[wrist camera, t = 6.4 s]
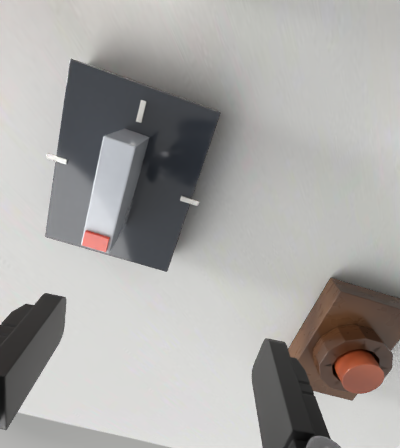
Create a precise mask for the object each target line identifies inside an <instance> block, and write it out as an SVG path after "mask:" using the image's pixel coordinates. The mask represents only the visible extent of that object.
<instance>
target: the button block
mask: <svg viewBox="0 0 400 448" xmlns="http://www.w3.org/2000/svg"><path fill="white" fill-rule="evenodd" d="M399 340H400V299H399V298H396V297H393V296H389V295H386V294H383V293H379V292H376V291H373V290H370V289H366V288H363V287H360V286H356V285H353V284H350V283H347V282H343V281H340V280H337V279H333V278H330V279H329V281H328V283H327V285H326V286H325V288H324V290H323V291H322V293H321V295H320V296H319V298H318V300H317V301H316V303H315V305H314V306H313V308H312V310H311V311H310V313H309V315H308V317H307V318H306V320H305V322H304V323H303V325H302V327H301V328H300V330H299V332H298V333H297V335H296V337H295V338H294V340H293V342H292V343H291V345H290V347H289V349H288V351H289V354H290V357H293V358H297V360H298V361H299V362H300V364H301V365H302V366H303V368H304V369H305V371H306V374H307V376H308V379H309V382H310V385H311V387H312V390H313V391H316V392H320V393H324V394H328V395H332V396H336V397H340V398H344V399H348V400H353V399H354V398H355V396H356V395H357V393H352V392H349V391H347V390H346V389H345V388H344V387H343V385H342V383H341V381H340V379H339V377H338V375H337V373H336V371H335V369H334V363H335V361H336V359H337V358H338V357H339V356H341V355H342V354H344V353H346V352H348V351H350V350H357V349H364V350H367V351H369V352H370V353H371V354H372V355H373V357H374V358H375V360H376V361H377V363H378V364H379V366H380V367H381V369H382V370H383V372H384V378H385V376H386V375H387V374H388V373H389V371H390V370H391V369H392V360H393V354H392V352H391V350H392V349H393V347H394V346H395V345H396V344H397V342H398V341H399Z"/></svg>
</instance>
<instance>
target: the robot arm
mask: <svg viewBox="0 0 400 448" xmlns="http://www.w3.org/2000/svg"><path fill="white" fill-rule="evenodd" d="M65 312H66V298H65V297H62V296H57V295H52V294H48V293H45V294H43V295H42V296H41V298H40V299H39V300H38V301H37V302H36V304H35V305H29V304H25V305H23V306H21V307H20V308H18V309H16V310H14V311H13V312H11V313H10V315H9V316H8V317H7V318H6V319H5V320H4V321H3V322H2V324H1V325H0V429H4V430H7V428H8V427H9V425H10V423H11V422H12V420H13V418H14V417H15V415H16V413H17V412H18V410H19V409H20V407H21V405H22V404H23V402H24V400H25V399H26V397H27V395H28V394H29V392H30V390H31V389H32V387H33V385H34V384H35V382H36V380H37V379H38V377H39V376H40V374H41V372H42V371H43V369H44V367H45V366H46V364H47V362H48V361H49V359H50V357H51V356H52V354H53V352H54V351H55V349H56V348H57V346H58V344H59V342H60V340H61V338H62V335H63V331H64V325H65ZM252 384H253V390H254V397H255V403H256V409H257V415H258V421H259V427H260V433H261V440H262V446H263V448H341V447H340V446H339V445H338V444H337V443H335V442H334V441H332V440H331V439H330V436H329V433H328V431H327V428H326V425H325V423H324V420H323V417H322V414H321V412H320V409H319V406H318V403H317V401H316V398H315V396H314V393H313V390H312V387H311V385H310V382H309V379H308V376H307V374H306V371H305V369H304V368H303V366H302V365H301V364H300V362H299V361H298V360H297V358H293V357H290V354H289V351H288V348H287V345H286V343H285V342H282V341H277V340H272V339H267V338H266V339H265V340H264V341H263V344H262V346H261V348H260V351H259V353H258V356H257V358H256V360H255V363H254V365H253V370H252Z"/></svg>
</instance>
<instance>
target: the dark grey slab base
mask: <svg viewBox="0 0 400 448" xmlns="http://www.w3.org/2000/svg"><path fill="white" fill-rule="evenodd" d="M219 116H220V112H219V111H217V110H215V109H212V108H209V107H206V106H203V105H201V104H198V103H195V102H192V101H189V100H187V99H184V98H181V97H178V96H175V95H173V94H170V93H167V92H164V91H161V90H159V89H156V88H153V87H150V86H147V85H145V84H142V83H139V82H136V81H134V80H131V79H128V78H125V77H122V76H120V75H117V74H114V73H111V72H108V71H106V70H103V69H100V68H97V67H94V66H92V65H89V64H86V63H83V62H79V61H76V60H73V59H70V64H69V71H68V78H67V85H66V92H65V99H64V106H63V113H62V121H61V128H60V135H59V142H58V149H57V156H55V155H52V154H49V153H47V154H46V158H47V159H50V160H53V161H56V163H55V170H54V178H53V185H52V192H51V199H50V206H49V213H48V220H47V227H46V234H45V237H47V238H51V239H54V240H58V241H61V242H65V243H68V244H72V245H75V246H79V247H82V248H86V249H89V250H93V251H96V252H100V253H103V254H107V255H110V256H113V257H117V258H120V259H124V260H127V261H131V262H134V263H138V264H141V265H145V266H148V267H152V268H155V269H159V270H162V271H166V272H167V271H168V268H169V265H170V262H171V259H172V256H173V253H174V250H175V247H176V244H177V241H178V238H179V235H180V232H181V229H182V226H183V223H184V220H185V217H186V214H187V211H188V208H189V205H190V204H192V205H195V206H198V204H199V201H197V200H193V199H192V196H193V193H194V190H195V187H196V184H197V181H198V178H199V175H200V172H201V169H202V166H203V163H204V160H205V157H206V154H207V152H208V149H209V146H210V143H211V140H212V137H213V134H214V131H215V128H216V125H217V122H218V119H219ZM122 129H127V130H130V131H133V132H136V133H139V134H142V135H145V136H147V137H149V141H148V145H147V148H146V152H145V156H144V160H143V163H142V167H141V171H140V175H139V178H138V182H137V186H136V190H135V193H134V197H133V201H132V205H131V208H130V212H129V216H128V220H127V224H126V226H125V228H124V230H123V231H122V233H121V234H120V236H119V238H118V239H117V241H116V243H115V244H114V246H113V247H112V249H111V251H110V252H109V253H105V252H101V251H98V250H95V249H91V248H88V247H85V246H82V245H81V242H82V237H83V232H84V227H85V223H86V218H87V213H88V208H89V203H90V199H91V194H92V189H93V184H94V179H95V174H96V170H97V165H98V160H99V155H100V150H101V145H102V141H103V136H105V135H108V134H110V133H113V132H116V131H119V130H122Z"/></svg>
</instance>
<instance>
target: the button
mask: <svg viewBox="0 0 400 448" xmlns="http://www.w3.org/2000/svg"><path fill="white" fill-rule="evenodd" d="M334 369H335V371H336V373H337V375H338V377H339V379H340V381H341V383H342V385H343V387H344V388H345V389H346V390H347V391H349V392H352V393H357V394H362V393H367V392H370V391H373V390H374V389H376V388H378V387H379V386H380V385H381V383H382V382H383V380H384V372H383V370H382V369H381V367H380V366H379V364H378V363H377V361H376V360H375V358H374V357H373V355H372V354H371V353H370V352H369V351H367V350H364V349H357V350H350V351H348V352H346V353H344V354H342V355H341V356H339V357H338V358H337V359H336V361H335V363H334Z"/></svg>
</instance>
